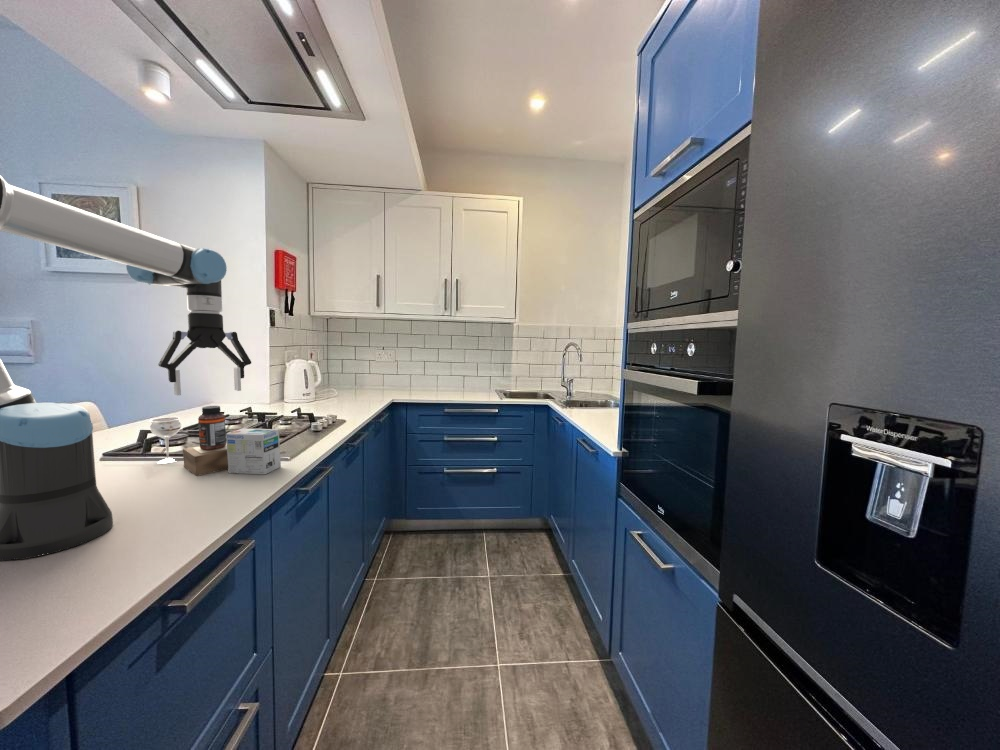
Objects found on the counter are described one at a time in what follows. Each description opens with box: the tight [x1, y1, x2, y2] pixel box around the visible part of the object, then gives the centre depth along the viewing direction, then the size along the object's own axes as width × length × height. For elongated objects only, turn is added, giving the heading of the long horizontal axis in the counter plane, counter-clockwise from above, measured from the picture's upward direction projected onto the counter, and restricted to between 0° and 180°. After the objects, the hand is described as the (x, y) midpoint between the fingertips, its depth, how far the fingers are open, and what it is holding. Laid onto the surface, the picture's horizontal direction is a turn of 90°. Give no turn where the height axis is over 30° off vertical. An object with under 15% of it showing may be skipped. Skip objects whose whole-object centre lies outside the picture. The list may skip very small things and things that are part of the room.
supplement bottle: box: [197, 405, 227, 450], centre depth 110 cm, size 6×6×11 cm
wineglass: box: [149, 416, 182, 464], centre depth 115 cm, size 7×7×12 cm
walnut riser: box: [182, 442, 228, 477], centre depth 111 cm, size 11×11×5 cm
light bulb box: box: [226, 427, 282, 475], centre depth 108 cm, size 11×7×11 cm, turn 84°
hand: (209, 392), depth 109 cm, fingers open, 13 cm apart
